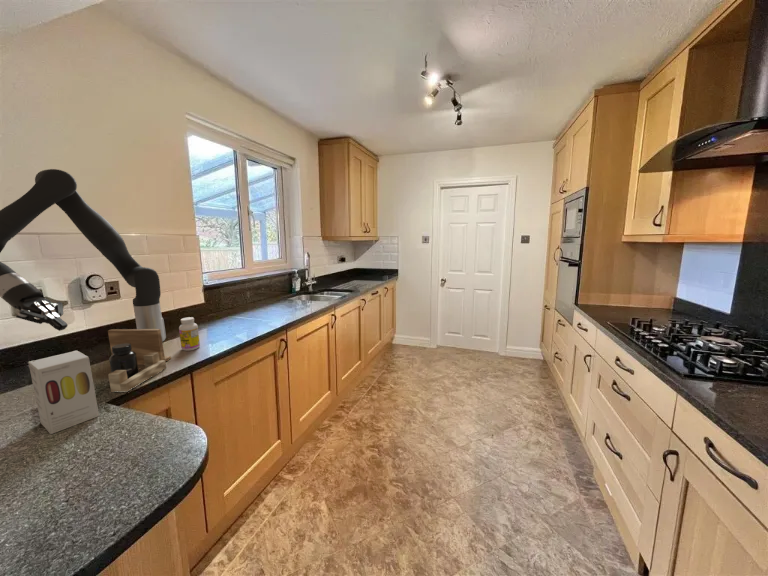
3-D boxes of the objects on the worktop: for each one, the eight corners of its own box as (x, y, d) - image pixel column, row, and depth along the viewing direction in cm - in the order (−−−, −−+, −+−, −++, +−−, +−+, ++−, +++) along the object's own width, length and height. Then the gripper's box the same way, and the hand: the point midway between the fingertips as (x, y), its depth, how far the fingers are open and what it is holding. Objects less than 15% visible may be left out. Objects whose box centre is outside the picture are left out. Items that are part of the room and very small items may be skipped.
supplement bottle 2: (177, 349, 129) (173, 319, 126) (192, 344, 135) (189, 315, 132) (189, 352, 126) (185, 321, 124) (203, 346, 132) (200, 317, 130)
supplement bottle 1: (124, 386, 99) (118, 350, 97) (107, 384, 100) (101, 348, 98) (145, 376, 105) (139, 342, 103) (128, 374, 107) (122, 341, 105)
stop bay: (152, 368, 111) (149, 352, 110) (166, 368, 111) (163, 352, 110) (111, 392, 95) (108, 374, 94) (127, 392, 95) (124, 374, 94)
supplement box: (49, 435, 75) (34, 370, 72) (39, 423, 80) (25, 361, 77) (101, 415, 83) (89, 355, 80) (88, 405, 88) (77, 349, 85)
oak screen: (124, 359, 120) (118, 326, 117) (171, 358, 120) (166, 326, 117) (113, 364, 115) (107, 330, 112) (161, 364, 115) (156, 330, 112)
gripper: (-1, 285, 91) (50, 326, 93) (45, 279, 104) (89, 315, 106) (-17, 303, 91) (35, 343, 94) (32, 295, 104) (75, 330, 107)
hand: (63, 328), depth 100 cm, fingers closed
